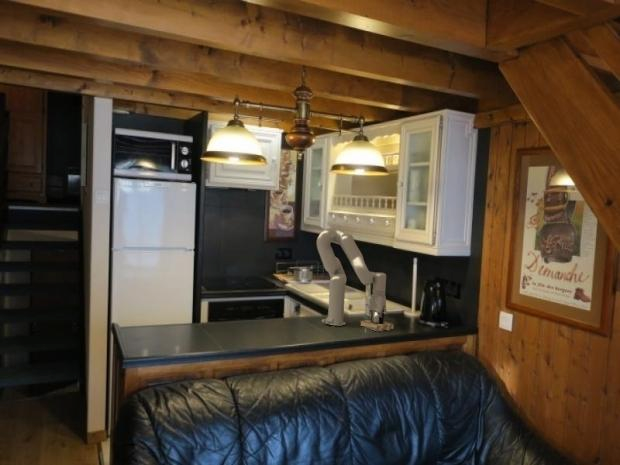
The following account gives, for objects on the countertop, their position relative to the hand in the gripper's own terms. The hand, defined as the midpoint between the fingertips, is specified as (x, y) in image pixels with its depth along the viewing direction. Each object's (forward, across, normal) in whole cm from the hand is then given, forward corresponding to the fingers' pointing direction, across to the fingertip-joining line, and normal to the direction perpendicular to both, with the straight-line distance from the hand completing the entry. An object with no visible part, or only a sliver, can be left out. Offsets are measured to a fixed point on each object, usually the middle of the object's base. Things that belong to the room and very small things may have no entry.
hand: (377, 321), depth 300 cm
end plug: (+4, 0, 0) cm, 4 cm away
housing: (+4, 0, 0) cm, 4 cm away
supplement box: (+4, -26, +20) cm, 33 cm away
